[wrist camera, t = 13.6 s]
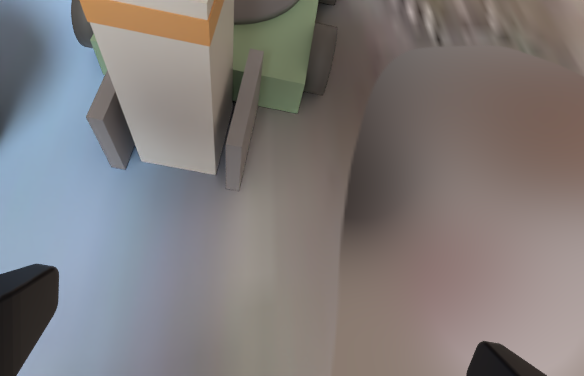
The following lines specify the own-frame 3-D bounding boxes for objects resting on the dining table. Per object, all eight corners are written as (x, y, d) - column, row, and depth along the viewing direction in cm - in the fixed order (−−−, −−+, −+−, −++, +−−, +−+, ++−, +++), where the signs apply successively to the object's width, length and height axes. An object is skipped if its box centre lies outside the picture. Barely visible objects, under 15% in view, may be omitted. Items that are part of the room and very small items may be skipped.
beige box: (216, 176, 25) (207, 5, 14) (140, 161, 25) (70, -24, 14) (233, 109, 28) (236, -83, 16) (163, 95, 27) (119, -109, 16)
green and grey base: (305, 203, 25) (322, 163, 21) (40, 153, 24) (-1, 100, 20) (337, -25, 35) (353, -86, 31) (149, -67, 34) (137, -137, 30)
